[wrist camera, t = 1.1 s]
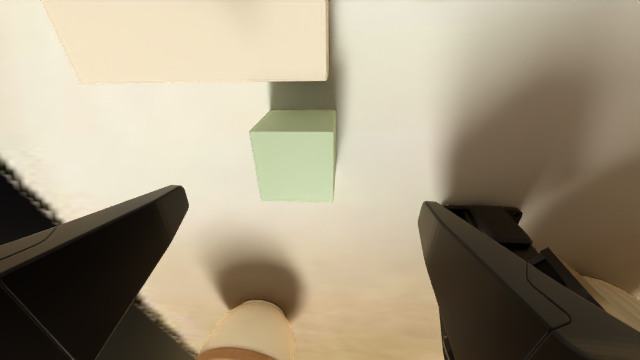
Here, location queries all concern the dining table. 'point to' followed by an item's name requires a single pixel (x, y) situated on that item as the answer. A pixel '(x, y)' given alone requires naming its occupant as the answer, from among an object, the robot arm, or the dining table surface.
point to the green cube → (295, 155)
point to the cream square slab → (193, 40)
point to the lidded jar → (251, 334)
